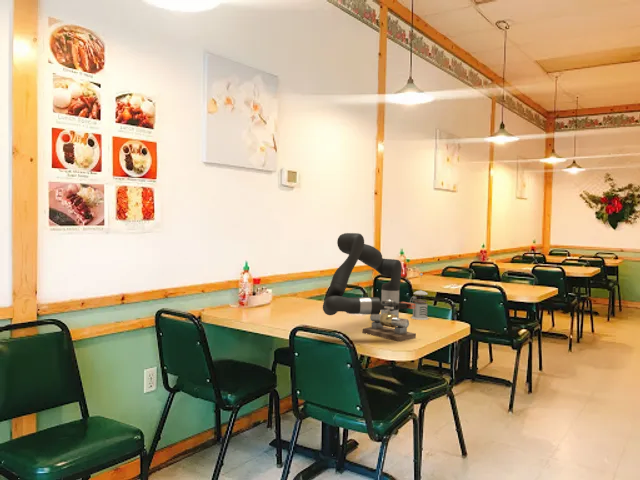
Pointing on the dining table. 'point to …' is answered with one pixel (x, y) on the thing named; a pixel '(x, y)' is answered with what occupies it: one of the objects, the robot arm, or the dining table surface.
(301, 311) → the dining table surface
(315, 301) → the dining table surface
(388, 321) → the pipe valve
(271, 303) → the dining table surface
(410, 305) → the valve lever
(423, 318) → the french press
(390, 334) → the base board
